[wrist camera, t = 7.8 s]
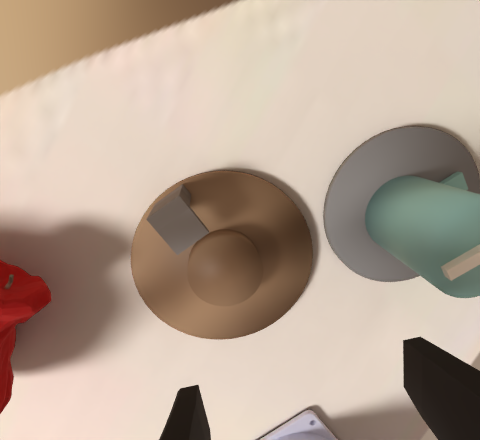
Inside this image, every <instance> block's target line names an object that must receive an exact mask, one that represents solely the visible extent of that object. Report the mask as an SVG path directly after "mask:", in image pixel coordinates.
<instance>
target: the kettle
mask: <svg viewBox="0 0 480 440" xmlns="http://www.w3.org/2000/svg"><path fill="white" fill-rule="evenodd" d="M466 190H468V187H467V184H466V181H465V178H464V176H463V173H462V172H458V171H457V172H456V173H454V174H452V175H451V176H449V177H447V178H446V179H444V180H442V181H441V182H439V183H438V182H435V181H431V180H428V179H424V178H420V177H417V176H408V175H407V176H400V177H396V178H394V179H391V180H390V181H388V182H386V183H385V184H383V185H382V186H381V187H380V188H379V189H378V190H377V191H376V192H375V193H374V195H373V196H372V198H371V199H370V201H369V203H368V206H367V209H366V214H365V225H366V229H367V232H368V234H369V236H370V237H371V238H372V240H373V241H374V242H376V243H377V244H378V245H379V246H381V247H382V248H384V249H385V250H386V251H388V252H389V253H390V254H392V255H393V256H394V257H396V258H397V259H398V260H400V261H401V262H403V263H404V264H405V265H407V266H408V267H409V268H411V269H412V270H413V271H415V272H416V273H417V274H419V275H420V276H422V277H423V278H424V279H426V280H427V281H428V282H430V283H431V284H432V285H434V286H435V287H436V288H438V289H439V290H441V291H442V292H444V293H445V294H447V295H450V296H453V297H457V298H471V297H477V296H480V194H477V193H473V192H470V191H466Z"/></svg>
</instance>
